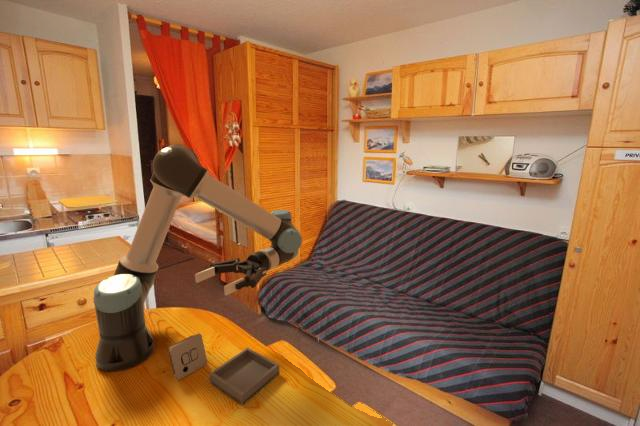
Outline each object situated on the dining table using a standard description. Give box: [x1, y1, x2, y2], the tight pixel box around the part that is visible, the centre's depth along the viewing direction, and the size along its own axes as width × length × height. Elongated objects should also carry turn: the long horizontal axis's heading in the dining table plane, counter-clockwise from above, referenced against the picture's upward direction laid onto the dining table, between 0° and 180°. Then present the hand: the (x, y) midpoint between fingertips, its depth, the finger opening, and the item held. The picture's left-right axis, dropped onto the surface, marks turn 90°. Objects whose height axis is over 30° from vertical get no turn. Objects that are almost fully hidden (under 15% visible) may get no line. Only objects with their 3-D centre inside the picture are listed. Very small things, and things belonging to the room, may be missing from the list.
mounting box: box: [209, 347, 280, 406], centre depth 90 cm, size 13×14×3 cm
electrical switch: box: [167, 332, 208, 381], centre depth 92 cm, size 9×5×9 cm, turn 141°
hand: (209, 284), depth 95 cm, fingers open, 13 cm apart
